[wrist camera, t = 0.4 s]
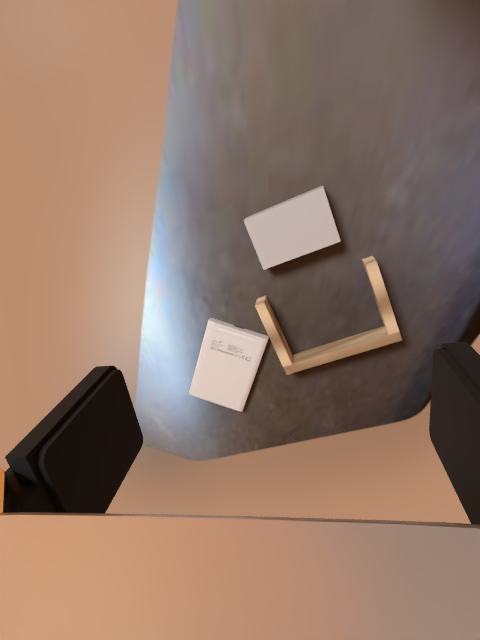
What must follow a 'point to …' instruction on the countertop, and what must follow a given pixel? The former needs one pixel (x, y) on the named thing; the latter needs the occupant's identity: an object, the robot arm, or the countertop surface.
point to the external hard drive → (227, 364)
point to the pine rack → (340, 347)
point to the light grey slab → (292, 228)
